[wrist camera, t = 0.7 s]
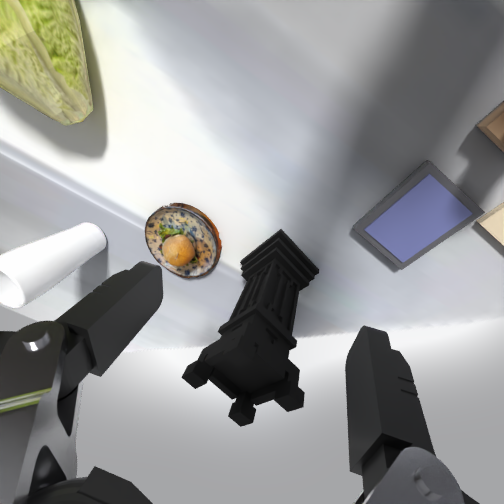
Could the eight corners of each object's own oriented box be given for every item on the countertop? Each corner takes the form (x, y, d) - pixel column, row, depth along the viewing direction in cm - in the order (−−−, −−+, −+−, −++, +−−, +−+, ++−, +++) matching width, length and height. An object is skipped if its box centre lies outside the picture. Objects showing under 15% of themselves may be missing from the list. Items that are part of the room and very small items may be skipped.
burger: (142, 202, 39) (106, 220, 33) (216, 201, 36) (192, 221, 30) (162, 270, 45) (134, 297, 38) (227, 275, 42) (208, 305, 35)
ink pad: (427, 160, 27) (431, 162, 26) (479, 208, 28) (485, 213, 27) (353, 225, 33) (354, 230, 31) (399, 264, 34) (401, 270, 32)
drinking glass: (91, 256, 47) (3, 311, 34) (69, 221, 44) (-35, 267, 32) (119, 249, 45) (35, 306, 32) (97, 212, 42) (-3, 259, 29)
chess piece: (241, 259, 39) (175, 376, 22) (281, 228, 35) (236, 341, 18) (277, 295, 41) (240, 430, 24) (319, 269, 37) (310, 408, 20)
